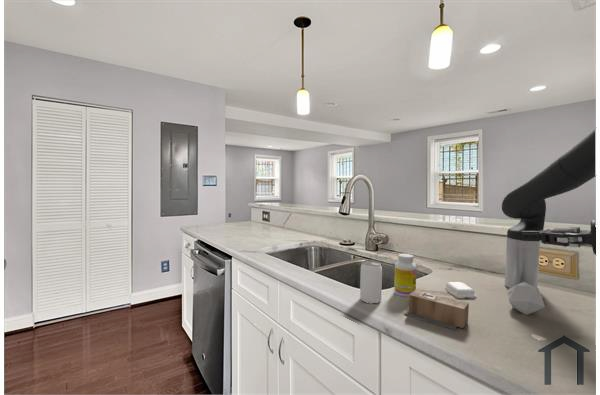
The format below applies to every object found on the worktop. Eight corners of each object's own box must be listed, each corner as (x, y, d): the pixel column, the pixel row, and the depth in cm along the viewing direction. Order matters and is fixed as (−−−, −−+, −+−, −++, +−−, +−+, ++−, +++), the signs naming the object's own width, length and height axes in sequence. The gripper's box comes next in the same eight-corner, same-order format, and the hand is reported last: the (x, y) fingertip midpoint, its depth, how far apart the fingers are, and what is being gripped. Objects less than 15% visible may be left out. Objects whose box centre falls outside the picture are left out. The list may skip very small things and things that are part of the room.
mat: (418, 302, 94) (418, 301, 94) (465, 315, 86) (465, 313, 86) (404, 314, 86) (404, 313, 86) (454, 330, 77) (454, 328, 77)
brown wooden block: (468, 321, 81) (415, 306, 90) (468, 301, 81) (415, 288, 90) (463, 328, 77) (408, 312, 87) (464, 307, 77) (408, 293, 86)
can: (375, 306, 91) (375, 266, 91) (356, 300, 96) (356, 262, 95) (385, 299, 96) (385, 262, 95) (366, 294, 101) (367, 258, 100)
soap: (443, 288, 107) (443, 280, 106) (462, 288, 107) (462, 280, 106) (456, 299, 98) (456, 290, 97) (477, 299, 98) (478, 290, 97)
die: (515, 304, 94) (498, 280, 93) (548, 297, 89) (530, 271, 88) (519, 324, 88) (501, 298, 87) (554, 317, 83) (535, 290, 82)
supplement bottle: (415, 299, 97) (416, 258, 96) (393, 296, 99) (394, 256, 98) (415, 291, 103) (416, 253, 102) (394, 288, 105) (395, 252, 104)
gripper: (623, 216, 66) (525, 218, 78) (623, 221, 57) (511, 222, 69) (626, 251, 66) (527, 247, 78) (626, 262, 57) (514, 255, 69)
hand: (520, 235), depth 74 cm, fingers closed
